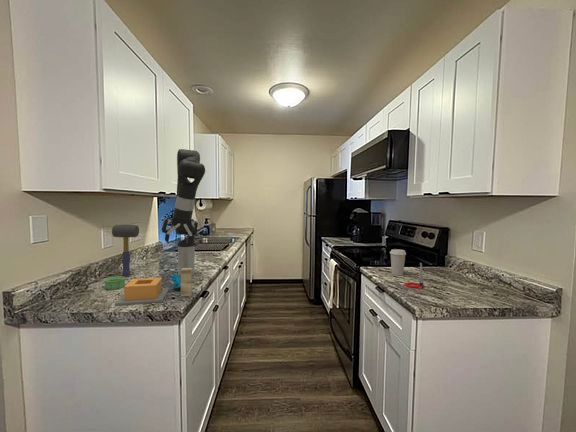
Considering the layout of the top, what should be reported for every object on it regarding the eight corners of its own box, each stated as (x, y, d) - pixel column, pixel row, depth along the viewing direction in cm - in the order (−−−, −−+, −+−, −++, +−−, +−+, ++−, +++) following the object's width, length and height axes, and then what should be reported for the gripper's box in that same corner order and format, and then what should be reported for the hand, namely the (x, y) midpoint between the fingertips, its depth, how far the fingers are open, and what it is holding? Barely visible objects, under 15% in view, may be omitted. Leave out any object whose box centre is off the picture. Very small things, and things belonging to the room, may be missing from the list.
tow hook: (402, 287, 147) (421, 289, 142) (402, 263, 147) (420, 264, 142) (406, 283, 154) (424, 286, 149) (406, 260, 154) (424, 262, 148)
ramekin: (116, 290, 134) (115, 281, 134) (99, 289, 135) (99, 280, 135) (129, 285, 143) (129, 276, 143) (114, 284, 144) (114, 275, 144)
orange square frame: (128, 292, 132) (128, 277, 131) (169, 289, 136) (169, 275, 136) (114, 305, 114) (114, 289, 114) (161, 302, 119) (161, 286, 118)
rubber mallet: (111, 278, 155) (110, 224, 153) (117, 274, 162) (117, 223, 161) (135, 277, 156) (134, 225, 155) (140, 274, 164) (139, 224, 162)
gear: (181, 289, 131) (169, 273, 133) (173, 298, 131) (160, 282, 133) (193, 286, 142) (182, 271, 144) (185, 294, 142) (174, 279, 144)
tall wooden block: (182, 293, 131) (181, 268, 131) (192, 292, 132) (192, 267, 132) (180, 296, 127) (180, 270, 126) (191, 295, 128) (191, 270, 127)
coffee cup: (386, 274, 172) (387, 250, 172) (392, 271, 180) (393, 248, 179) (402, 277, 166) (403, 252, 165) (407, 274, 173) (408, 250, 173)
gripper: (199, 207, 125) (192, 240, 129) (165, 202, 118) (158, 238, 121) (202, 212, 119) (195, 246, 122) (167, 207, 112) (160, 244, 115)
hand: (177, 242), depth 122 cm, fingers open, 8 cm apart
